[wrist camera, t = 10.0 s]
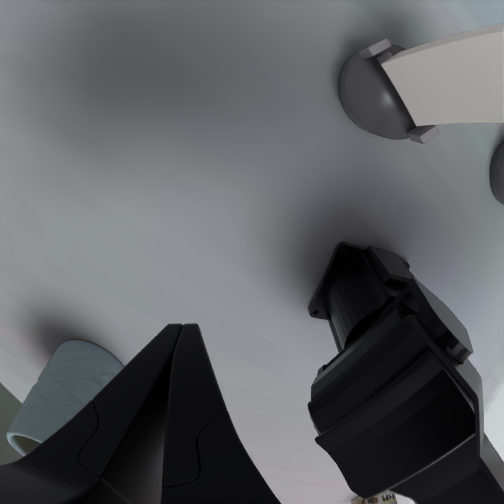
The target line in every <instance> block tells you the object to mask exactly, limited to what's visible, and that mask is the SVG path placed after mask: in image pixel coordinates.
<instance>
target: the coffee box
mask: <svg viewBox="0 0 504 504" xmlns="http://www.w3.org/2000/svg"><path fill="white" fill-rule="evenodd" d="M351 503H352V504H397V501H396V497H395V493H393V492H390V491H385V492H383V493H381V494H379V495H376V496H374V497H372V498H370V499H363V498H361V497H360V496H358V497H356V498H355V499H353V500H351Z"/></svg>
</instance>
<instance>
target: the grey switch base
mask: <svg viewBox="0 0 504 504" xmlns="http://www.w3.org/2000/svg"><path fill="white" fill-rule="evenodd" d="M404 50H407V49H404V48H402V47H400V46H396V45H391V43H390V42H389V40H388V39H387V38H386V39H383V40H380V41H378V42H375V43H373V44H372V45H370V46H368V47H366V48H364V49H363V50H361V51H359V52H357V53H355V54H354V55H352V56H351V57H350V58H349V59H348V60H347V61H346V63H345V64H344V66H343V68H342V70H341V73H340V76H339V82H338V91H339V97H340V101H341V104H342V106H343V108H344V110H345V112H346V114H347V115H348V116H349V118H350V119H351V120H352V121H353V122H354V123H355V124H356V125H357V126H359V127H360V128H362V129H363V130H365V131H367V132H369V133H372V134H375V135H379V136H382V137H385V138H389V139H397V140H398V139H406V138H410V140H412V141H415V142H418V143H421V144H425V143H426V142H427V141H429V140H430V139H432V138H433V137H435V136H436V135H438V134H439V133H440V132H439V130H438V128H437V126H436V125H424V126H416V125H415V123H414V121H413V119H412V117H411V115H410V114H409V112H408V110H407V108H406V106H405V104H404V103H403V101H402V99H401V97H400V95H399V94H398V92H397V90H396V89H395V87H394V85H393V83H392V82H391V80H390V79H389V77H388V75H387V74H386V72H385V70H384V69H383V67H382V66H381V64H380V63H379V61H378V60H377V57H379V56H381V55H383V54H385V53H387V52H390V53H391V55H392V56H394V55H396V54H397V53H399V52H401V51H404Z"/></svg>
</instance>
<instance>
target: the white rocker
mask: <svg viewBox="0 0 504 504" xmlns="http://www.w3.org/2000/svg"><path fill="white" fill-rule="evenodd" d="M377 60H378V61H379V63H380V64H381V66H382V67H383V69H384V70H385V72H386V74H387V75H388V77H389V79H390V80H391V82H392V83H393V85H394V87H395V89H396V90H397V92H398V94H399V95H400V97H401V99H402V101H403V103H404V104H405V106H406V108H407V110H408V112H409V114H410V115H411V117H412V119H413V121H414V123H415V125H416V126H424V125H438V124H456V123H504V24H499V25H494V26H489V27H485V28H480V29H476V30H472V31H468V32H464V33H460V34H456V35H453V36H449V37H445V38H442V39H439V40H435V41H432V42H429V43H425V44H422V45H419V46H416V47H413V48H410V49H407V50H404V51H401V52H399V53H397V54H396V55H394V56H392V55H391V53H390V52H387V53H385V54H383V55H381V56H379V57H377Z"/></svg>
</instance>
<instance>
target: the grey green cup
mask: <svg viewBox="0 0 504 504" xmlns="http://www.w3.org/2000/svg"><path fill="white" fill-rule="evenodd" d="M123 368H124V367H123V365H122V364H121V363H120V362H119V361H118V360H117V359H116V358H115V357H114V356H112V354H110V353H109V352H108V351H106V350H105V349H103V348H101V347H99V346H97V345H95V344H92V343H89V342H86V341H82V340H69V341H66V342H64V343H62V344H61V345H60V346H59V347H58V348H57V349H56V351H55V353H54V354H53V356H52V358H51V359H50V361H49V362H48V364H47V365H46V367H45V368H44V370H43V371H42V373H41V374H40V376H39V378H38V382H37V383H36V384H35V385H34V386H33V387H32V389H31V391H30V392H29V394H28V396H27V398H26V399H25V401H24V403H23V405H22V407H21V409H20V411H19V412H18V414H17V416H16V417H15V419H14V421H13V423H12V425H11V427H10V428H9V430H8V432H7V439H8V441H9V443H10V444H11V445H12V446H13V447H14V448H15V449H16V450H17V451H18V452H19V453H20V454H21V455H23V456H25V455H27V454H28V453H29V452H31V451H32V450H33V449H34V448H36V447H37V446H38V445H40V444H41V443H42V442H43V441H45V440H46V439H47V438H49V437H50V436H51V435H52V434H54V433H55V432H56V431H57V430H59V429H60V428H61V427H62V426H63V425H64V424H66V423H67V422H68V421H69V420H70V419H71V418H73V417H74V416H75V415H76V414H77V413H78V412H79V411H80V410H81V409H82V408H83V407H84V406H85V405H86V404H87V403H88V402H89V401H90V400H93V397H94V396H95V395H96V394H97V393H98V392H100V391H101V390H102V389H103V388H104V387H105V386H106V385H107V384H108V383H109V382H110V381H111V380H112V379H113V378H114V377H115V376H116V375H117V374H118V373H119V372H120V371H121V370H122V369H123Z"/></svg>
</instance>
